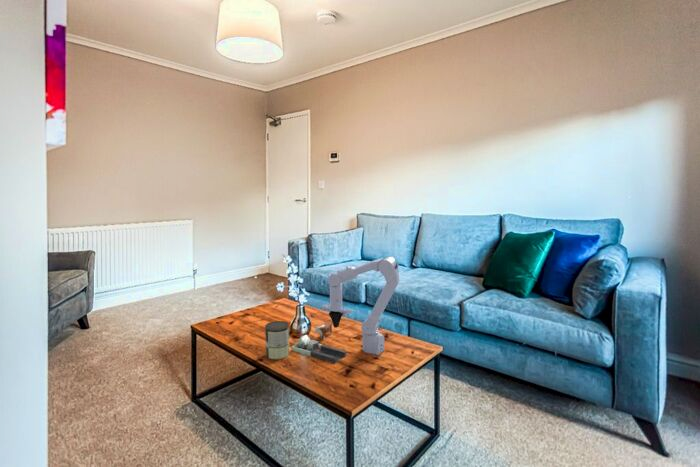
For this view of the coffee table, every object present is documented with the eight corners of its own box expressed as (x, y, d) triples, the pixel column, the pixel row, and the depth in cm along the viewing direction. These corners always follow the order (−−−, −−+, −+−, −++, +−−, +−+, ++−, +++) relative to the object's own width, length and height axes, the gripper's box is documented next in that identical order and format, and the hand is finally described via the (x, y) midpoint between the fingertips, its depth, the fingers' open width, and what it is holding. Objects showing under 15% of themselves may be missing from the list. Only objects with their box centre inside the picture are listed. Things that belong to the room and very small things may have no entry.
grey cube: (318, 350, 167) (318, 341, 167) (313, 353, 164) (312, 344, 164) (312, 347, 170) (312, 339, 169) (306, 350, 167) (306, 342, 166)
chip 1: (307, 346, 171) (311, 341, 169) (301, 349, 168) (305, 344, 166) (302, 339, 173) (306, 334, 171) (296, 342, 169) (300, 337, 167)
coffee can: (260, 356, 162) (260, 325, 160) (279, 348, 170) (278, 319, 168) (276, 363, 155) (275, 331, 154) (294, 355, 163) (294, 324, 162)
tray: (322, 349, 169) (322, 344, 168) (310, 357, 161) (310, 352, 161) (304, 344, 174) (304, 339, 174) (291, 351, 167) (291, 346, 166)
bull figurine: (312, 342, 176) (312, 326, 175) (327, 333, 188) (327, 317, 187) (320, 344, 174) (320, 328, 173) (334, 334, 186) (334, 319, 185)
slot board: (346, 356, 162) (346, 351, 161) (334, 365, 154) (334, 359, 154) (322, 349, 169) (322, 344, 168) (310, 357, 161) (310, 351, 161)
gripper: (354, 298, 169) (354, 327, 171) (328, 293, 177) (328, 321, 178) (345, 302, 163) (345, 332, 165) (319, 297, 171) (319, 325, 173)
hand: (336, 326), depth 171 cm, fingers closed
